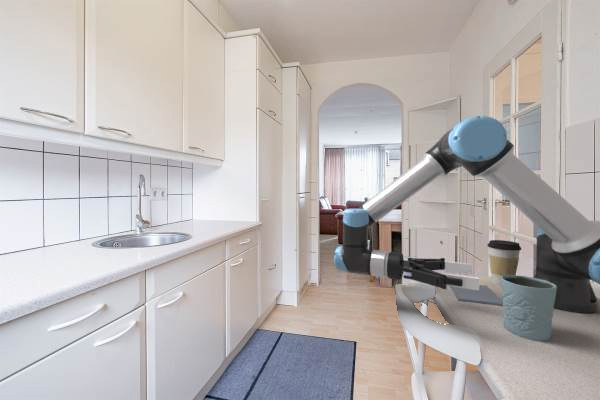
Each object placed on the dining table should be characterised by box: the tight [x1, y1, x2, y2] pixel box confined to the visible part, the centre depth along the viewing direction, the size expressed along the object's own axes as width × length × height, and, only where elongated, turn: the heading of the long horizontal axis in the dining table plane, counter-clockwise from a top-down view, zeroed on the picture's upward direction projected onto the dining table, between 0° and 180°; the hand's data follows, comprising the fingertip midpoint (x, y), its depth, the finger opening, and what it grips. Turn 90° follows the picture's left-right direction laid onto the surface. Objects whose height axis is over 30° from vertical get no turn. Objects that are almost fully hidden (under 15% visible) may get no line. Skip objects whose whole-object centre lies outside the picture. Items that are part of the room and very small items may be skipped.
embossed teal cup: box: [501, 274, 557, 342], centre depth 64 cm, size 10×10×12 cm
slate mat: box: [449, 284, 503, 307], centre depth 88 cm, size 12×16×1 cm
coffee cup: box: [487, 239, 522, 287], centre depth 97 cm, size 10×10×15 cm
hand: (475, 276), depth 68 cm, fingers open, 13 cm apart
